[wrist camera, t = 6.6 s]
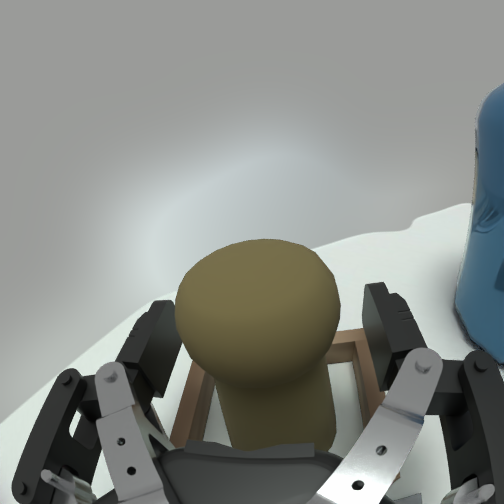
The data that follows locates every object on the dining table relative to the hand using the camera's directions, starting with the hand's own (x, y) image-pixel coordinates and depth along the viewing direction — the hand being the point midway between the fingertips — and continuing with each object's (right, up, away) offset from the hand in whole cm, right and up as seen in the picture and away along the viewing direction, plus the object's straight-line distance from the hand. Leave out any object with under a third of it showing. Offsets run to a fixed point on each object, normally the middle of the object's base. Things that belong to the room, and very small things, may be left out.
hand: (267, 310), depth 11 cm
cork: (+1, -8, +2) cm, 8 cm away
